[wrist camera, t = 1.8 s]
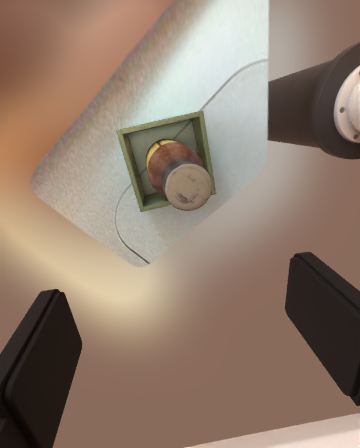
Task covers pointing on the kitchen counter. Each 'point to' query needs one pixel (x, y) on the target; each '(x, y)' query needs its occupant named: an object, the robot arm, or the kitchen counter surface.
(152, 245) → the kitchen counter surface
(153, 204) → the caddy
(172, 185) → the sauce bottle
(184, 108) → the kitchen counter surface
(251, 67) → the kitchen counter surface
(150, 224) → the kitchen counter surface
